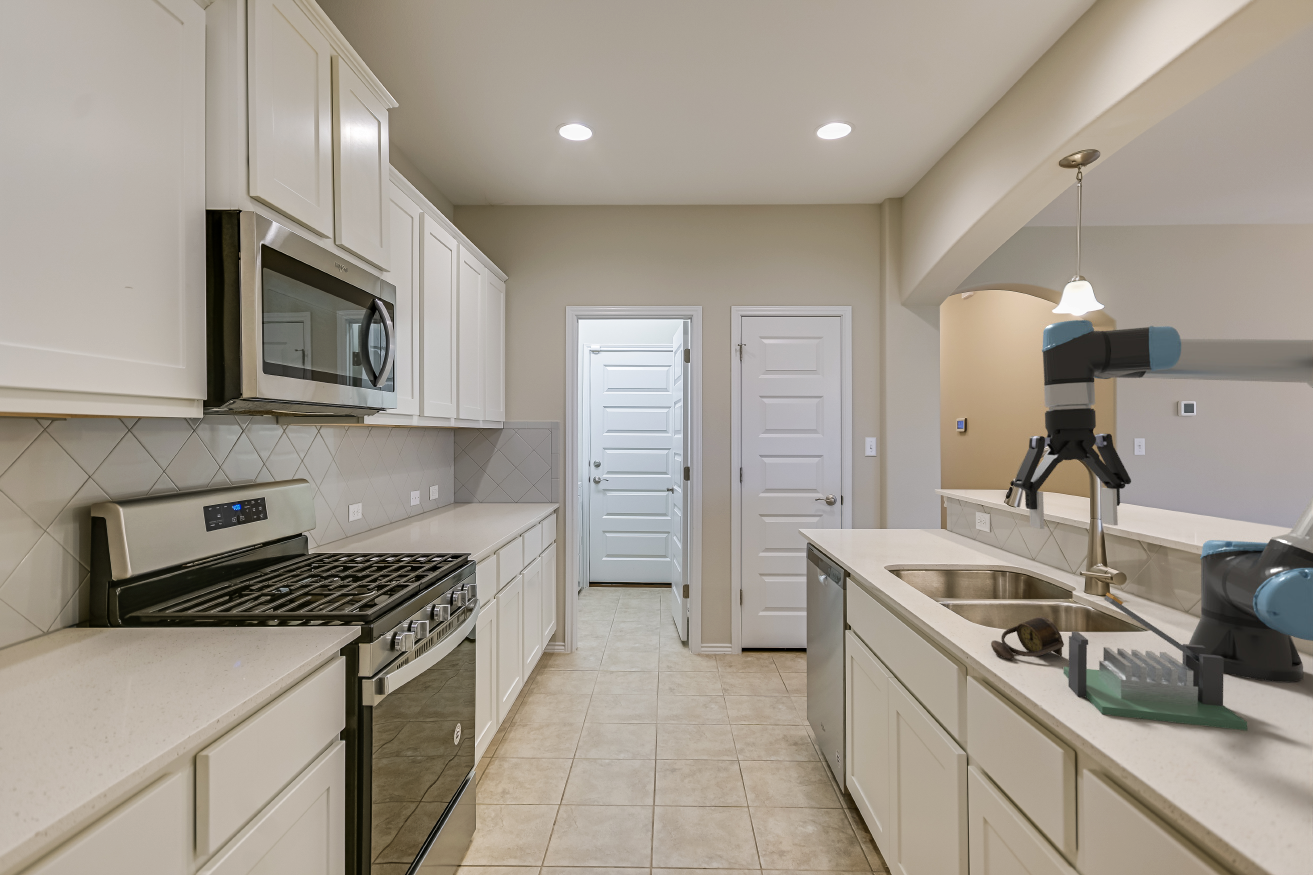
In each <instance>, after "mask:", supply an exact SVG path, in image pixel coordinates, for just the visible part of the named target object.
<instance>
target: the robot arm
mask: <svg viewBox="0 0 1313 875" xmlns="http://www.w3.org/2000/svg"><path fill="white" fill-rule="evenodd" d="M1042 334H1043V335H1042V349H1041V353H1042V361H1043V362H1042V363H1043V382H1044V384H1043V385H1044V386H1043V388H1044V389H1043V392H1044V407H1046V408H1048V410H1046V411H1045V412H1044V421H1045V422H1044V424H1045V426H1044V427H1045V429H1046V431H1047V434H1046V437H1045V436H1043V435H1032V436H1030V437H1029V439H1028V440H1029V441H1028V442H1029V444H1028V450H1027V452H1026V454H1025V457H1024V458H1023V461H1022V462H1021V465H1020V467H1019V470H1018V472H1017V474H1016V476H1015V479H1014V481H1013V486H1014V488H1018V489H1020V490H1022V491H1024V500H1025V501H1024V502H1025V509H1027V510H1029V511H1028V512H1029V527H1031V528H1033V529H1034V528H1036V529H1039V530H1040V529H1041V530H1045V516H1044V513H1045V510H1044V506H1045V505H1044V492H1043V491H1039V490H1040V489H1041V487H1042V486H1043V484H1044V483H1045V482H1046V480H1048V478H1049V476H1050V475H1051V474H1052V473H1053V471H1054V470H1055V469H1056V467H1057V466H1058V465H1059V464H1060V463H1062V462H1063V461H1073V460H1076V461H1077V460H1078V461H1079V460H1080V461H1082V462H1084V463H1085V465H1086V466H1087V467H1088V469H1090V470H1091V471H1092V472H1093V473H1094V476H1096V477H1097V478H1098V479H1099V481H1100V482H1101V483H1102V484H1103V485H1104V486H1105V487H1100V510H1101V512H1100V513H1101V515H1100V516H1101V524H1103V525H1109V526H1118V525H1119V524H1118V521H1119V519H1118V507H1119V506H1120V505H1121V494H1120V493H1121V492H1120V491H1121V489H1122V490H1123V489H1125V487H1126V485H1130V484H1131V483H1132V479H1131V477H1130V476H1129V472H1128V471H1127V470H1126V467H1125V465H1124V464H1123V462H1122V459H1121V458H1120V455H1119V454H1118V452H1117V450H1116V448H1115V446H1114V443H1113V436H1112V434H1111V433H1097V434H1095V433H1094V430H1095V428H1096V426H1097V424H1096V423H1097V421H1096V420H1097V419H1096V418H1097V417H1096V410H1095V409H1094V408H1092V406H1095V404H1096V391H1095V390H1096V389H1095V379H1100V380H1101V379H1103V380H1109V379H1112V378H1115V379H1116V378H1120V379H1122V378H1123V379H1161V380H1162V379H1163V380H1164V379H1168V380H1195V381H1196V380H1198V381H1199V380H1202V381H1236V382H1237V381H1238V382H1240V381H1241V382H1268V383H1269V382H1270V383H1306V384H1307V385H1308V386H1309V387H1310V388H1313V339H1254V338H1253V339H1246V338H1245V339H1240V338H1239V339H1238V338H1235V339H1234V338H1233V339H1231V338H1229V339H1227V338H1223V339H1221V338H1211V339H1210V338H1206V339H1205V338H1181V336H1180V333H1179V332H1178V331H1177V329H1176V328H1175V327H1173V326H1167V325H1165V326H1163V325H1162V326H1153V325H1150V326H1147V327H1146V326H1145V327H1137V328H1125V329H1113V330H1095V329H1094V327H1093V323H1092V322H1091V321H1090V320H1087V319H1079V320H1078V319H1075V320H1065V321H1058V322H1055V323H1050V324H1049V325H1047V326H1046V327H1045V328H1044V329H1043V332H1042ZM1094 446H1096V448H1097V451H1098V452H1097V451H1096V450H1095V449H1094V448H1093V447H1094ZM1045 448H1048V450H1047V452H1046V453H1045V454H1044V452H1045ZM1043 454H1044V455H1043ZM1042 456H1043V457H1042ZM1100 457H1101V458H1100ZM1042 458H1043V459H1042ZM1041 459H1042V461H1041ZM1040 461H1041V462H1040ZM1199 558H1200V562H1201V564H1200V565H1201V571H1200V573H1201V575H1200V577H1201V580H1200V582H1201V583H1200V584H1201V585H1200V586H1201V588H1200V589H1201V590H1200V592H1201V593H1200V594H1201V595H1200V602H1201V603H1200V605H1201V606H1200V607H1201V608H1200V609H1201V610H1200V619H1199V621H1198V623H1197V625H1196V628H1195V630H1194V632H1193V634H1192V635H1191V637H1190V640H1189V642H1188V644H1190V645H1202V646H1204V647H1205V648H1206V655H1216V656H1221V657H1223V658H1224V674H1229V675H1233V676H1237V677H1241V678H1245V679H1246V678H1247V679H1253V680H1259V681H1266V682H1267V681H1268V682H1276V683H1292V682H1293V683H1294V682H1300V681H1301V680H1303V679H1304V664H1303V662H1302V659H1301V656H1300V654H1299V652H1298V650H1297V647H1296V644H1295V642H1294V639H1293V638H1296V639H1300V640H1304V641H1311V642H1313V496H1312V497H1311V498H1310V500H1309V502H1308V503H1307V505H1306V506H1305V508H1304V510H1303V511H1302V512H1301V514H1300V516H1299V517H1298V519H1297V521H1296V522H1295V524H1294V525H1293V527H1292V529H1291V530H1290V532H1288V533H1286V534H1282V535H1277V536H1274V537H1271V538H1270V539H1269V541H1268V542H1260V541H1259V542H1257V541H1256V542H1255V541H1243V540H1242V541H1241V540H1240V541H1239V540H1224V539H1223V540H1220V539H1219V540H1218V539H1210V540H1207V541H1205V542H1204V543H1203V545H1202V549H1201V555H1200V557H1199Z"/></svg>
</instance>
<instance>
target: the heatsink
mask: <svg viewBox="0 0 1313 875" xmlns="http://www.w3.org/2000/svg"><path fill="white" fill-rule="evenodd" d="M1116 650H1117V651H1116V652H1115V651H1114V650H1113V649H1112V648H1111V647H1106V646H1104V647H1103V660H1099V661H1098V662H1099V663H1098V665H1099V666H1098V667H1099V669H1098V670H1099V678H1100V679H1101V680H1102V681H1103V682H1104V683H1105V684H1106V685H1107V686H1108V687H1109V688H1110V689H1111V690H1112V691H1114V692H1115V693H1116V694H1117V695H1118V696H1119V697H1120V698H1122V699H1132V700H1141V701H1151V702H1160V703H1170V704H1179V705H1189V706H1198V687H1197V686H1196V685H1194V684H1193V670H1191V669H1190V668H1188V667H1187V666H1185V665H1184V664H1182V663H1183V662H1181V661H1180V660H1178V659H1176V658H1175V657H1173V656H1172V655H1170V654H1169V653H1167V652H1165V651H1159V655H1158V654H1156V653H1155V652H1153V651H1152V650H1145V654H1144V653H1142V652H1141V651H1139V650H1138V649H1133V648H1132V649H1130V650H1131V653H1130V652H1128V651H1127V650H1126V649H1124V648H1120V647H1119V648H1118V647H1117V649H1116Z"/></svg>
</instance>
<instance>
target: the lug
mask: <svg viewBox="0 0 1313 875" xmlns="http://www.w3.org/2000/svg"><path fill="white" fill-rule="evenodd" d="M1088 646H1089V639H1088V638H1087V637H1085V636H1084V635H1083V634H1082V633H1080V632H1079V631H1071V635H1068V667H1069V679H1068V688H1070V689H1071V691H1072V692H1073V693H1074V694H1075V695H1076V696H1077V697H1079V698H1086V676H1087V669H1088V667H1087V662H1088V661H1087V657H1088V656H1087V654H1088V653H1087V652H1088V650H1087V649H1088V648H1087V647H1088Z"/></svg>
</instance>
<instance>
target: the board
mask: <svg viewBox="0 0 1313 875" xmlns="http://www.w3.org/2000/svg"><path fill="white" fill-rule="evenodd" d="M1063 675H1064V676H1066V678H1067V679H1068V680H1069V666H1063ZM1085 698H1086V699H1087V700H1088V701H1089V702H1090V703H1091V704H1092V705H1093V707H1094V708H1096V710H1098V711H1099V713H1100V714H1102V715H1105V716H1106V715H1107V716H1115V717H1124V718H1134V719H1140V720H1141V719H1143V720H1149V721H1150V720H1151V721H1161V722H1169V723H1175V724H1176V723H1178V724H1179V723H1180V724H1187V725H1188V724H1189V725H1196V726H1203V727H1205V726H1206V727H1214V728H1221V729H1222V728H1223V729H1231V730H1240V731H1248V721H1246V720H1245V719H1243V718H1242V717H1240V716H1239V715H1238V714H1236V713H1235V712H1234V711H1232V710H1230V709H1229V708H1228V707H1226V706H1225V705H1224V704H1223V706H1217V705H1207V704H1202V703H1200V702H1199V701H1198V706H1189V705H1179V704H1170V703H1160V702H1151V701H1141V700H1132V699H1122V698H1120V697H1119V696H1118V695H1117V694H1116V693H1115V692H1114V691H1112V690H1111V689H1110V688H1109V687H1108V686H1107V685H1106V684H1105V683H1104V682H1103V681H1102V680H1101V679H1100V678H1099V669H1091V668H1087V676H1086V697H1085Z"/></svg>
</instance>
